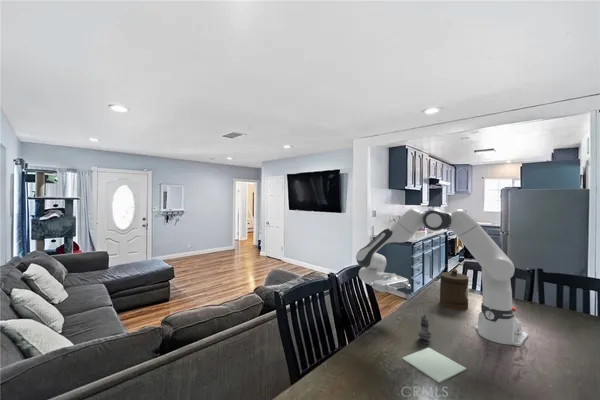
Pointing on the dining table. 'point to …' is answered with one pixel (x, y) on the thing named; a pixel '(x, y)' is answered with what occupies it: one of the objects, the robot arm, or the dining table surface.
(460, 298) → the wooden container
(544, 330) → the dining table surface
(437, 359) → the mat
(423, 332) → the grey metal vase shape
